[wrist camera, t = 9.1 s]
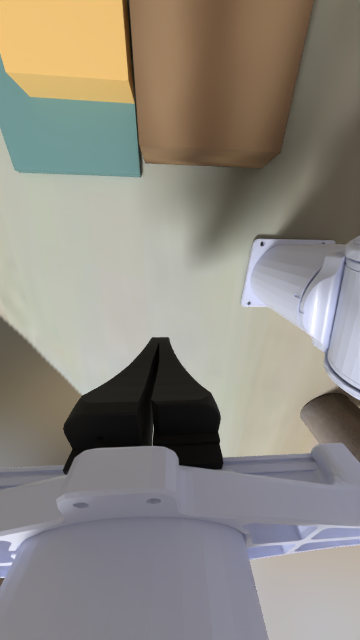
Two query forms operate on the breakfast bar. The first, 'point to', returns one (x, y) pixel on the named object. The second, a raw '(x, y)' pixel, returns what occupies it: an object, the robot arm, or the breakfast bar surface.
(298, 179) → the breakfast bar surface
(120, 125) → the mat
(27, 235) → the breakfast bar surface
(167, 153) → the brown flat block
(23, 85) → the tile
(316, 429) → the pillar candle
